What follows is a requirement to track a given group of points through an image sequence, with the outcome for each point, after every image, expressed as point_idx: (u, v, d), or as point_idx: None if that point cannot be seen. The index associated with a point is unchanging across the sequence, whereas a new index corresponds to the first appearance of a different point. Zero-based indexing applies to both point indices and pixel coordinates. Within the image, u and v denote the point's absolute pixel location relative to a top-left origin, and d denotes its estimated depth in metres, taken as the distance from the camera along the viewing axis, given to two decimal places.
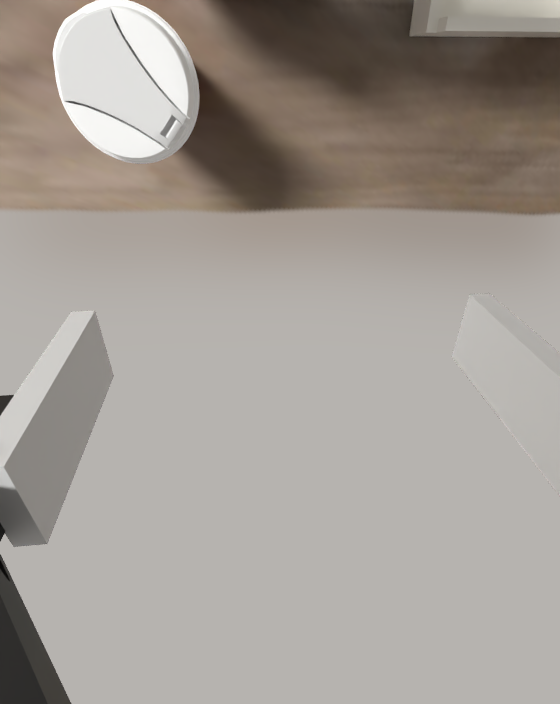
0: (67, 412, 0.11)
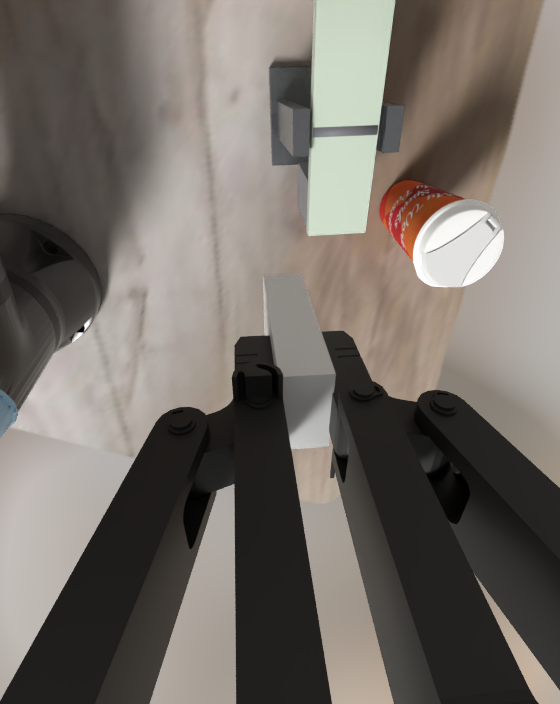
0: None
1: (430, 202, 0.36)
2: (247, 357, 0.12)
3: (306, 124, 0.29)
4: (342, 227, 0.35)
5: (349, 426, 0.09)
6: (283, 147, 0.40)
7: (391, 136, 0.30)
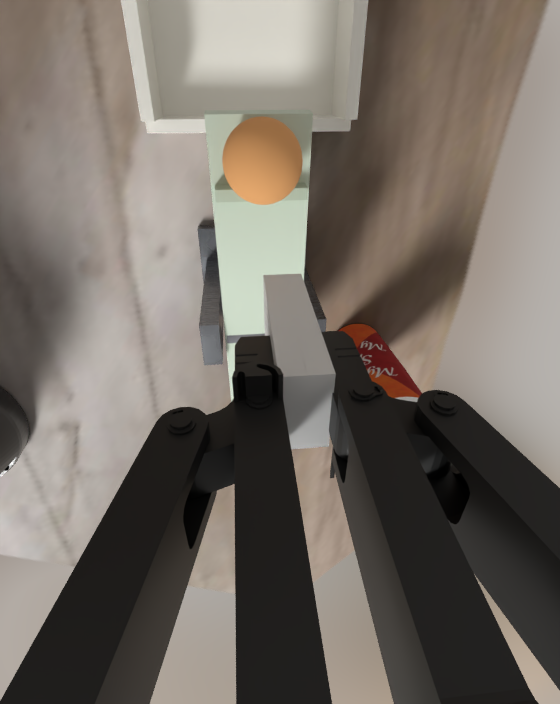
0: None
1: None
2: (247, 357, 0.12)
3: (216, 338, 0.26)
4: None
5: (349, 426, 0.09)
6: None
7: None
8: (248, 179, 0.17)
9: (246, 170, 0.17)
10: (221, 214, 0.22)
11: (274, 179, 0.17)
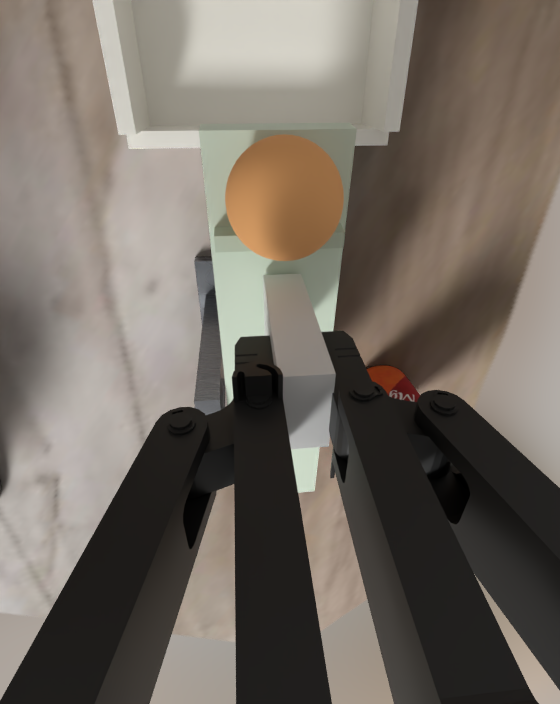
0: None
1: None
2: (247, 357, 0.12)
3: None
4: None
5: (349, 426, 0.09)
6: None
7: None
8: (264, 230, 0.11)
9: (262, 217, 0.11)
10: (223, 265, 0.16)
11: (304, 230, 0.11)
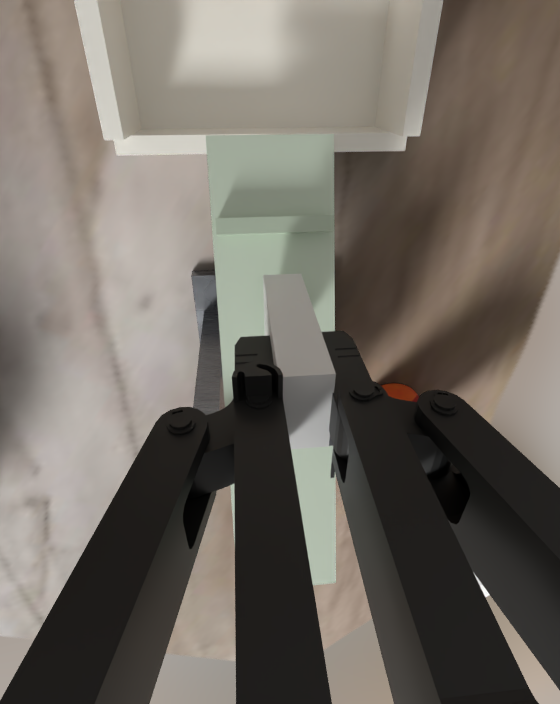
0: None
1: None
2: (247, 357, 0.12)
3: None
4: None
5: (349, 426, 0.09)
6: None
7: None
8: None
9: None
10: (224, 258, 0.17)
11: None
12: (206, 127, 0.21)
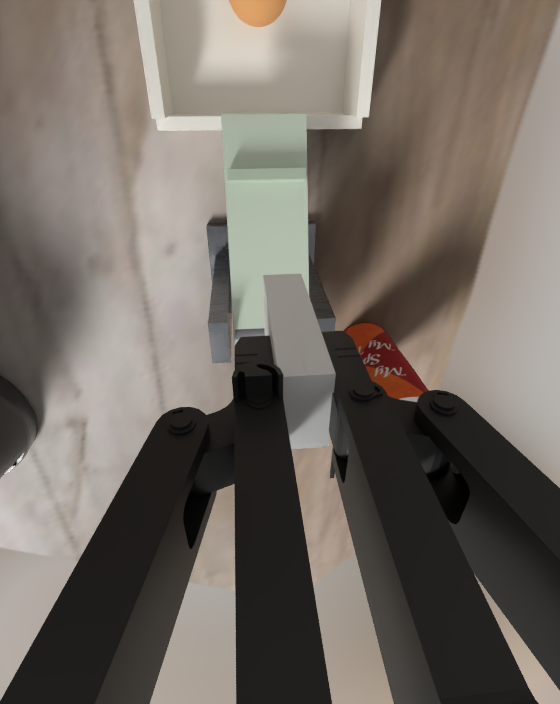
0: None
1: (376, 382, 0.32)
2: (247, 357, 0.12)
3: (224, 336, 0.26)
4: None
5: (349, 426, 0.09)
6: None
7: None
8: (246, 23, 0.25)
9: (245, 22, 0.25)
10: (232, 198, 0.25)
11: None
12: (219, 112, 0.29)
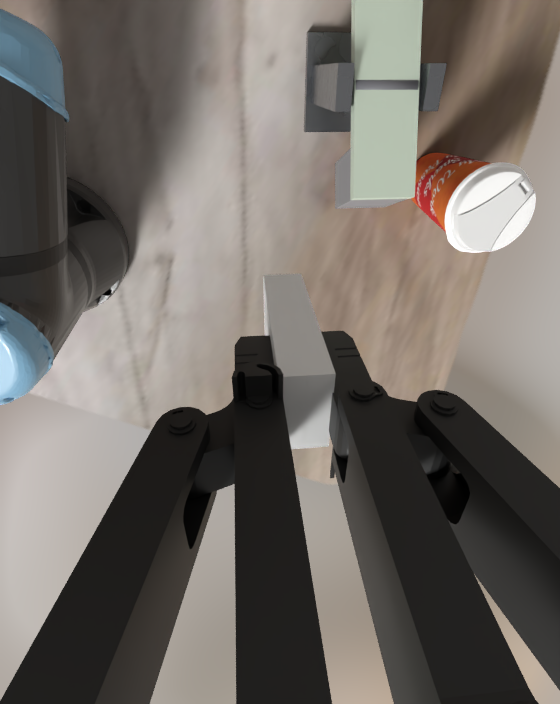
0: None
1: (462, 167, 0.36)
2: (247, 357, 0.12)
3: (350, 78, 0.30)
4: (389, 189, 0.32)
5: (349, 426, 0.09)
6: (316, 113, 0.41)
7: (431, 94, 0.31)
8: None
9: None
10: None
11: None
12: None
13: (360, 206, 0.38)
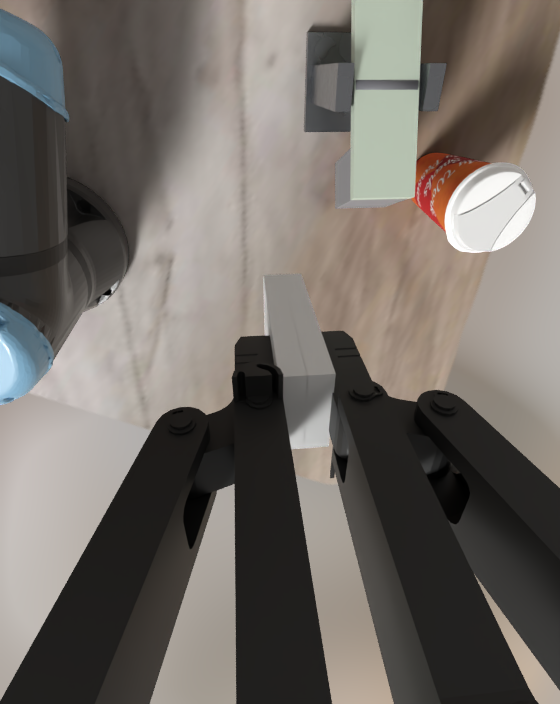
0: None
1: (462, 167, 0.36)
2: (247, 357, 0.12)
3: (350, 78, 0.30)
4: (389, 189, 0.32)
5: (349, 426, 0.09)
6: (316, 113, 0.41)
7: (431, 94, 0.31)
8: None
9: None
10: None
11: None
12: None
13: (360, 206, 0.38)
